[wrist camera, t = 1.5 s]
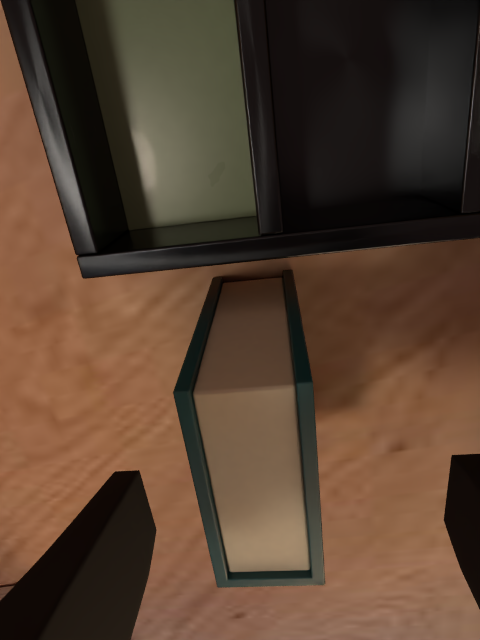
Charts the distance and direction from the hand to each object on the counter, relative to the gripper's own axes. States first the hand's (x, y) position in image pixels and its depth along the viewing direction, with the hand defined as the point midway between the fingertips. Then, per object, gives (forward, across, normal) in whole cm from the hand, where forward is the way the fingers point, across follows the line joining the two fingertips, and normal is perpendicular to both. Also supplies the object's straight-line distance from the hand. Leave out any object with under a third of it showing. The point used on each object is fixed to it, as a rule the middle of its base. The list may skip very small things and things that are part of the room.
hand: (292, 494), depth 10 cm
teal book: (+10, +1, +1) cm, 10 cm away
